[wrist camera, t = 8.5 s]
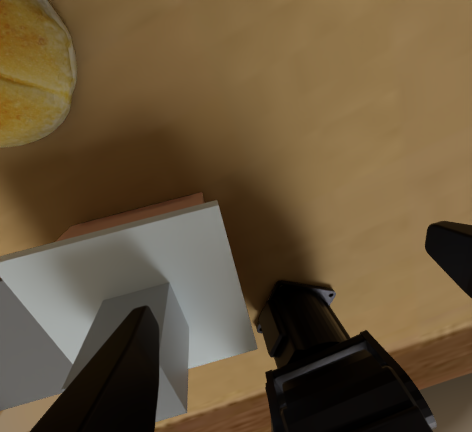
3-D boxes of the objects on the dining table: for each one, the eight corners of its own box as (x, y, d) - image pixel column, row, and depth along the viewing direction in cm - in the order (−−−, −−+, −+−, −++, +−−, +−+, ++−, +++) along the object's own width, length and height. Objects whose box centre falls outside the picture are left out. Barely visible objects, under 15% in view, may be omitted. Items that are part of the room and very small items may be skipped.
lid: (217, 199, 14) (230, 259, 8) (255, 339, 19) (277, 429, 14) (1, 255, 13) (-125, 355, 8) (101, 383, 18) (65, 493, 13)
